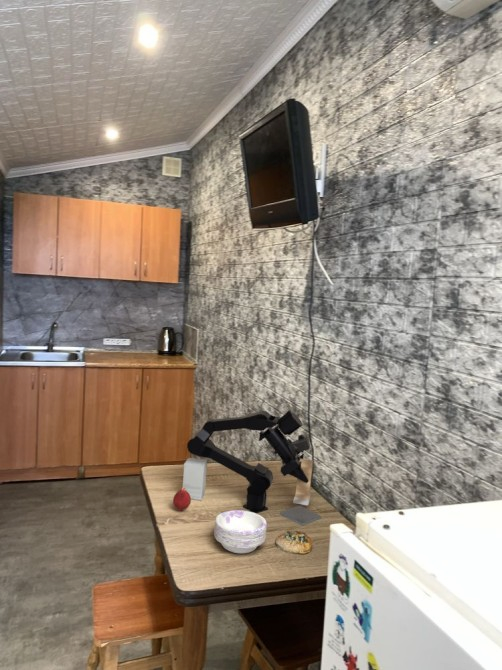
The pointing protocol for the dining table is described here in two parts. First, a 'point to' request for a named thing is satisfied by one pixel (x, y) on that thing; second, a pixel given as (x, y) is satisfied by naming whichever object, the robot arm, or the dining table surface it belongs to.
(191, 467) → the supplement box
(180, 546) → the dining table surface
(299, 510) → the steel plate
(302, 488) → the block
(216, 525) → the paper bowls
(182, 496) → the red pointed oval piece
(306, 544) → the bread roll
